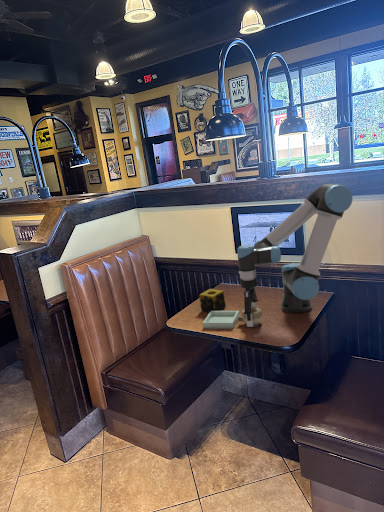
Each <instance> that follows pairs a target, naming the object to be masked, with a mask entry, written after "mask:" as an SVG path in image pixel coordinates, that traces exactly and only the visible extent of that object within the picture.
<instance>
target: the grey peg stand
mask: <svg viewBox="0 0 384 512" xmlns="http://www.w3.org/2000/svg"><path fill="white" fill-rule="evenodd" d="M251 313H254V312H253V311H251ZM260 323H261V322H260ZM260 323H257V324H253V327H252V328H259V326H260ZM244 324H245V328H246V327H247V324H246V323H244ZM247 328H248V327H247Z"/></svg>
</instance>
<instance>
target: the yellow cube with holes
mask: <svg viewBox="0 0 384 512" xmlns="http://www.w3.org/2000/svg"><path fill="white" fill-rule="evenodd" d="M224 292H225V291H224V289H223V290H220V289H215V288H208V289H207V290H205V291H204V292H201V293H200V294H198V295H199V299H200V300H199V302H200V310H201V312H204V313H208V314H209V313H210V311H223V310H224V309H225V308H226V307H227V306H226V301H225V300H226V299H225V293H224Z"/></svg>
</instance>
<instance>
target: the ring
mask: <svg viewBox="0 0 384 512" xmlns="http://www.w3.org/2000/svg"><path fill="white" fill-rule="evenodd" d="M251 311H253V312H254V313H252V320H253V324H257V323H262V321H263V313H262V309H261V308H259V307H258V306H257V307H251ZM244 312H245V309H244V308H243V309H242V310H241V315H240V314H239V316H238V321H237V322H243V323H244V324H245V323H246V324H247V321H246V314H244Z"/></svg>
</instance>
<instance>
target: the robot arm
mask: <svg viewBox="0 0 384 512" xmlns="http://www.w3.org/2000/svg"><path fill="white" fill-rule="evenodd" d="M352 203H353V194H352V191H351V190H350V188H349V187H347V186H345V185H344V184H343V185H342V184H339V183H324V184H322V185H319V186H318V187H317V188H316V189H314V191H312V192H311V193H310V194H309V195H308V196H306V198H304V201H303V203H302V204H301V205H300V206H299V207H297V208H296V209H295V210H294V211H293V212H292V213H291V214H289V215H288V216H287V217H286V218H285V219H284V220H283V221H281V223H279V224H278V225H277V226H276V227H275V228H274V229H272V230H271V231H270V232H269V233H268V234H267V235H266V236H264V237H263V238H262V239H261V240H258V241H255V242H254V244H244V245H239V246H238V248H237V249H236V250H237V260H238V261H237V262H238V270H239V271H238V273H237V274H239V278H240V280H239V281H240V287H241V288H242V289H245V291H244V292H243V295H244V297H243V298H244V304H243V305H244V308H243V309H245V312H244V314H246V321H247V328H249V327H250V328H254V327H253V320H252V313H251V307H258V306H257V305H258V301H259V300H258V298H257V297H258V296H257V292H256V287H257V286H258V283H257V271H256V266H260V265H266V264H274V263H280V262H281V260H282V252H281V249H280V247H279V246H280V244H282V243H283V242H285V241H286V240H287V239H288V238H289V237H290V236H291V235H292V234H293V233H295V232H296V231H297V230H299V229H300V228H301V227H302V226H303V225H304V224H305V223H306V222H308V221H309V220H310V219H311V218H312V217H314V216H315V215H317V216H316V220H315V221H314V226H313V228H312V230H311V233H310V236H309V239H308V242H307V244H306V248H305V249H304V253H303V255H302V258H301V261H300V262H299V263H297V262H296V263H295V262H294V263H287V264H284V265H283V266H281V277H282V288H283V289H282V290H283V296H282V299H281V303H280V306H281V307H280V308H281V310H282V311H284V312H285V313H291V314H299V313H305V312H308V311H310V310H311V309H312V308H313V303H312V301H311V299H313V298H314V297H316V296H317V294H318V293H319V290H320V283H319V280H320V277H321V272H320V270H319V269H320V268H321V263H322V261H323V259H324V256H325V254H326V251H327V248H328V247H329V246H328V245H329V242H330V241H331V238H332V235H333V231H334V229H335V227H336V224H337V221H338V220H340V219H342V218H343V216H344V213H345V211H347V210H348V209H350V207H351V206H352Z"/></svg>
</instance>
